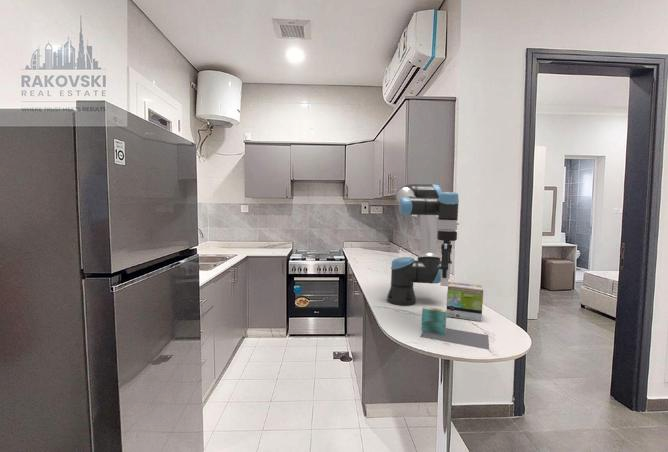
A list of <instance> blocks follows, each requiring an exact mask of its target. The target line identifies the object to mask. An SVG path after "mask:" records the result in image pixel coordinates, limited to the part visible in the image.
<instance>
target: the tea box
mask: <svg viewBox="0 0 668 452" xmlns="http://www.w3.org/2000/svg"><path fill="white" fill-rule="evenodd" d="M446 294H447V296H446V310H447V313H446V318H448V317H449V318H456V319H464V320H469V321H476V322H482V316H483V303H484V302H483V301H484V300H483V299H484V289H483V286H482V284H474V283H473V284H472V283H464V282H455V281H448V286H447V293H446Z"/></svg>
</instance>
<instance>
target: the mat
mask: <svg viewBox="0 0 668 452" xmlns="http://www.w3.org/2000/svg"><path fill="white" fill-rule="evenodd" d="M419 337H420V338H424V339H430V340H436V341H440V342H446V343H451V344H457V345H462V346H467V347H473V348H479V349H484V350H490V339H489V334H484V333H479V332H473V331H466V330H465V331H464V330H460V329H459V330H458V329H454V328H449V327H448V328H447V327H446V333H445V335H444V334H438V333H432V332H426V331H422V330H421V333H420V336H419Z"/></svg>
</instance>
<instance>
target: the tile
mask: <svg viewBox="0 0 668 452" xmlns="http://www.w3.org/2000/svg"><path fill="white" fill-rule="evenodd" d="M421 312H422V313H421V332H422V331H426V332H432V333H438V334H444V335H445V333H446V328H447V315H446V314H447V309H441V308H434V307H428V306H423V307H422V309H421Z"/></svg>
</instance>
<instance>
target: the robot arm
mask: <svg viewBox="0 0 668 452" xmlns="http://www.w3.org/2000/svg"><path fill="white" fill-rule="evenodd" d="M395 199H396V202H397V203H398V204H399V205H398V210H399V214H400V215H407V216H410V215H411V216H412V215H413V216H416V215H417V216H419V218H420V221H419V225H420V227H419V228H420V233H419V234H420V235H419V236H420V237H419V238H420V242H419V243H420V254H419V256H417V260H415V258H414V257H412V256H407V257H406V256H404V257H397V258H396V257H395V258H394V259H393V260H392V261H391V267H390V269H391V275H390V276H391V277H390V288H389V290H388V294H387V296H386V301H387V302H388V303H389V304H391V305H395V306H396V305H397V306H404V307H405V306H413V305H416V304H417V296H416V294H415V290H414V284H416V283H417V284H431V285H432V284H440V285H439V286H441V287H448V282H449V280H450V279H451V264H452V265H453V261H452V260H451V259H452V258H451V254H452V249H453V245H452V242H455V241H457V239H458V231H457V230H458V225H460V223H459V222H458V219H459V218H458V217H459V202H460V199H459V194H458V193H457V192H455V191H453V192H451V191H446V192H445V191H443V190H442V188H441V186H440V185H438V184H433V183H426V184H425V183H423V184H422V183H421V184H420V183H417V184H416V183H415V184H413V183H410V184H406V185H404V186H401V187H400V188H398V189H397V191H396V194H395ZM437 217H438V218H437ZM438 241H443V243H442V244H441V246H440V248H441V251H440V253H441V257H440V256H439V255H438Z"/></svg>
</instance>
